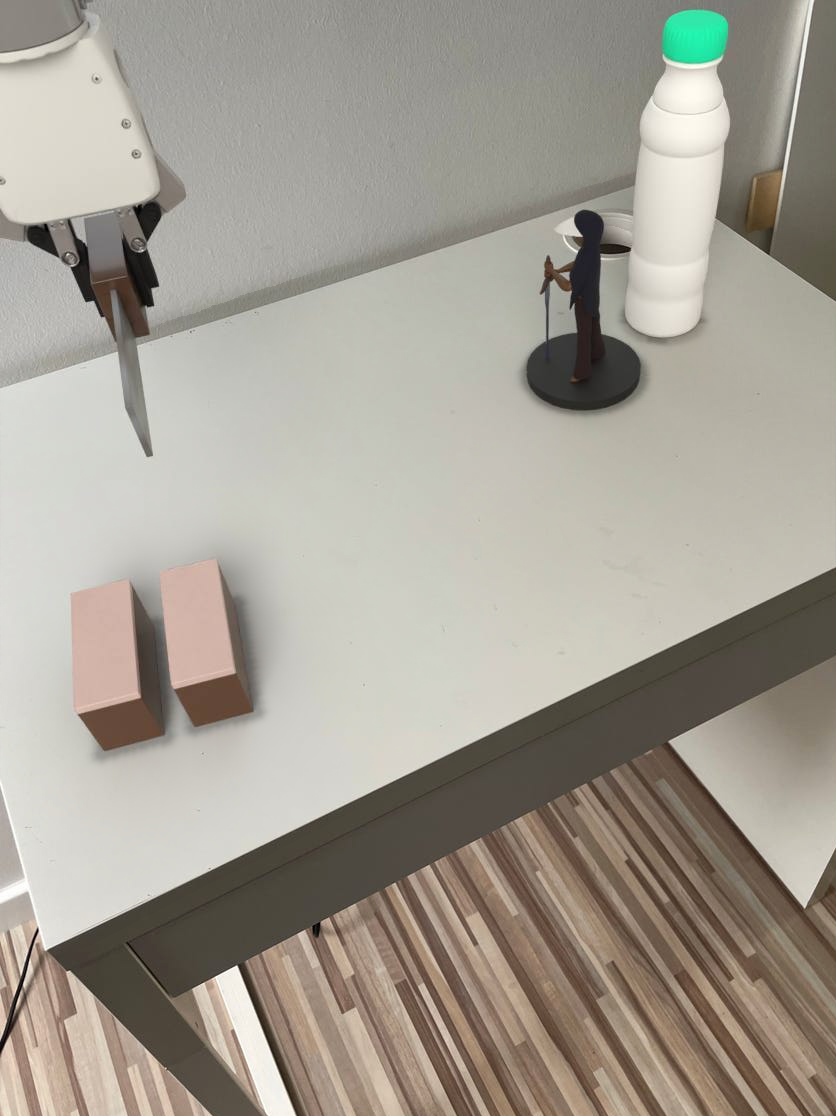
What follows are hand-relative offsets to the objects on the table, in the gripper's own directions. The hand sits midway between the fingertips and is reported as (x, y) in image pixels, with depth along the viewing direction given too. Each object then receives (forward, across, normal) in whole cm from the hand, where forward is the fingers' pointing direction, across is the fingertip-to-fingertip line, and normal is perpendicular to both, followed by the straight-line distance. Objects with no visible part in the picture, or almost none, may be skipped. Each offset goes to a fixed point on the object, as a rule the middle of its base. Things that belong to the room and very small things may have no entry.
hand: (125, 300), depth 67 cm
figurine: (+15, -35, +1) cm, 38 cm away
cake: (+15, +4, +22) cm, 27 cm away
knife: (0, 0, +6) cm, 7 cm away
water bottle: (+15, -45, -4) cm, 48 cm away
